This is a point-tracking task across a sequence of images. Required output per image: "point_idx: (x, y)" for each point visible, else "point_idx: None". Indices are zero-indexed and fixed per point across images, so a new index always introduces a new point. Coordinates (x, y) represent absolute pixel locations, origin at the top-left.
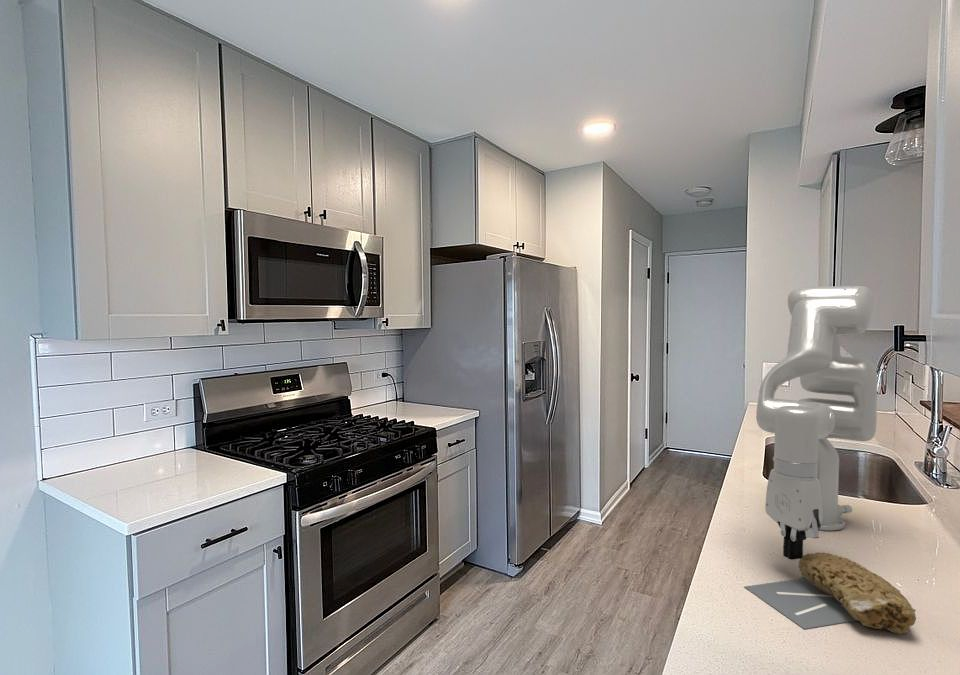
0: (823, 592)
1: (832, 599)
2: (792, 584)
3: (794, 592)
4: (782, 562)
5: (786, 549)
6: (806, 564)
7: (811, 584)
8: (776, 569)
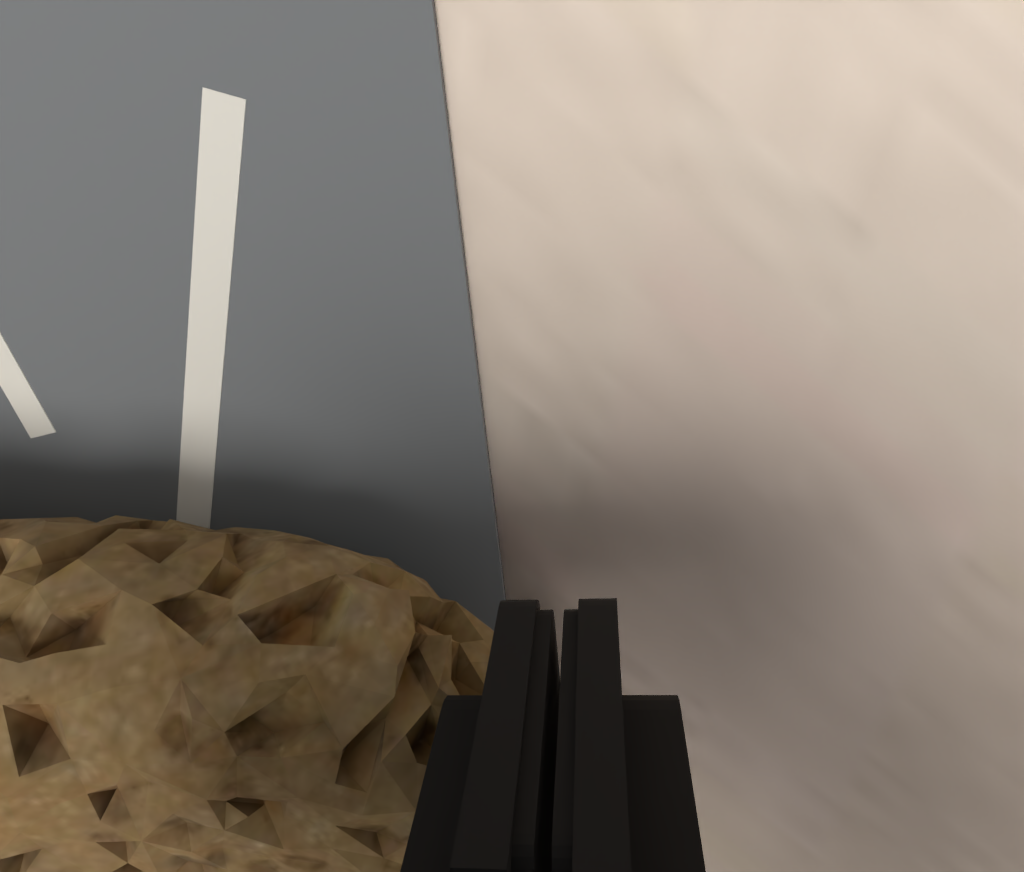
0: None
1: None
2: (399, 409)
3: (238, 307)
4: (850, 643)
5: (561, 685)
6: (201, 641)
7: None
8: (738, 486)
